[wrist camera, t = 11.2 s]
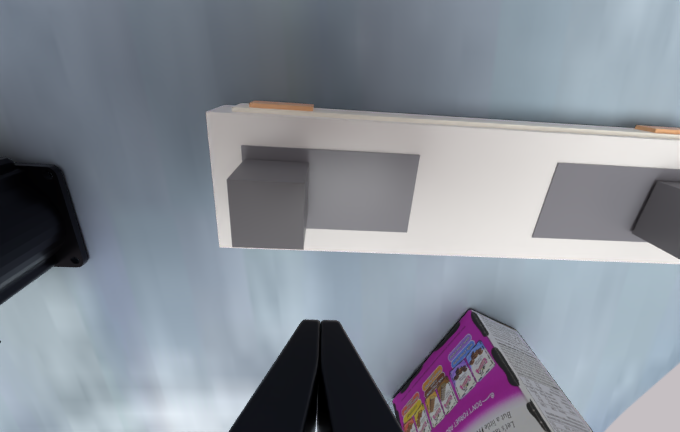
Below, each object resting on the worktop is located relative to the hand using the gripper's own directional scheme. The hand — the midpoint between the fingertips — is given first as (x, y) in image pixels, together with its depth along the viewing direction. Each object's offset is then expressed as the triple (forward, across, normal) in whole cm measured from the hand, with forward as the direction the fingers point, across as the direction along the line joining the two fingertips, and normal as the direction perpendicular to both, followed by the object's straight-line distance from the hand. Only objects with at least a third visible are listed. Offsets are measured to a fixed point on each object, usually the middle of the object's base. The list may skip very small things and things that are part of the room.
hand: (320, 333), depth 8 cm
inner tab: (+9, +2, 0) cm, 10 cm away
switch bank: (+13, -8, 0) cm, 15 cm away
